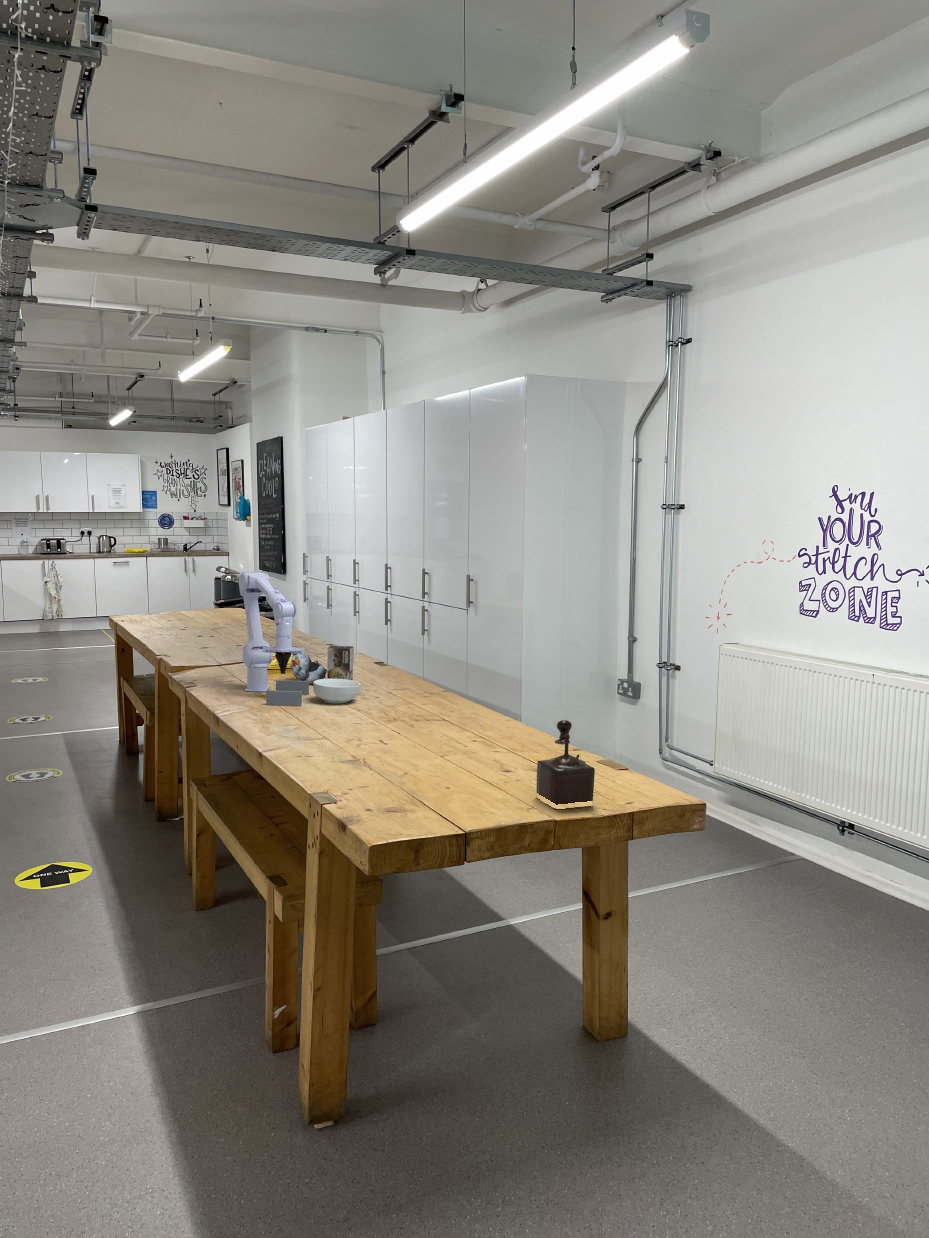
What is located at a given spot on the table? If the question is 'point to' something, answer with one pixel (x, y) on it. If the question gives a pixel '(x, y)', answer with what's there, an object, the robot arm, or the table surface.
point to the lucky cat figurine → (306, 668)
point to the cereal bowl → (336, 690)
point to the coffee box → (340, 662)
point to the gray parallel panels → (287, 693)
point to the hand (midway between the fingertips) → (282, 673)
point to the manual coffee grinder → (565, 774)
